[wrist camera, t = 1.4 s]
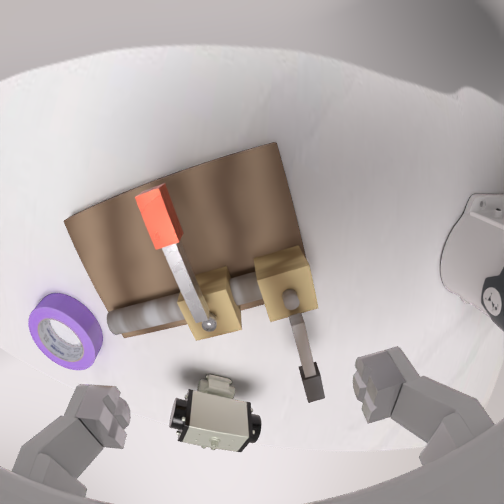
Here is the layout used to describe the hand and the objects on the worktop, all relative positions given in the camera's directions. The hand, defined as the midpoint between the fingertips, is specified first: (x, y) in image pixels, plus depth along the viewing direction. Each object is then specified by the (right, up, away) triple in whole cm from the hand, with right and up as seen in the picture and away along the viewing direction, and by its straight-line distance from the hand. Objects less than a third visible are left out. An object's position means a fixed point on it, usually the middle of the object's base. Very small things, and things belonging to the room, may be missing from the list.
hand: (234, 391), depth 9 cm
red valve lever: (-5, +4, +17) cm, 18 cm away
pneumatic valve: (-5, -16, +33) cm, 37 cm away
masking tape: (-27, -7, +28) cm, 39 cm away
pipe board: (-5, 0, +26) cm, 27 cm away
